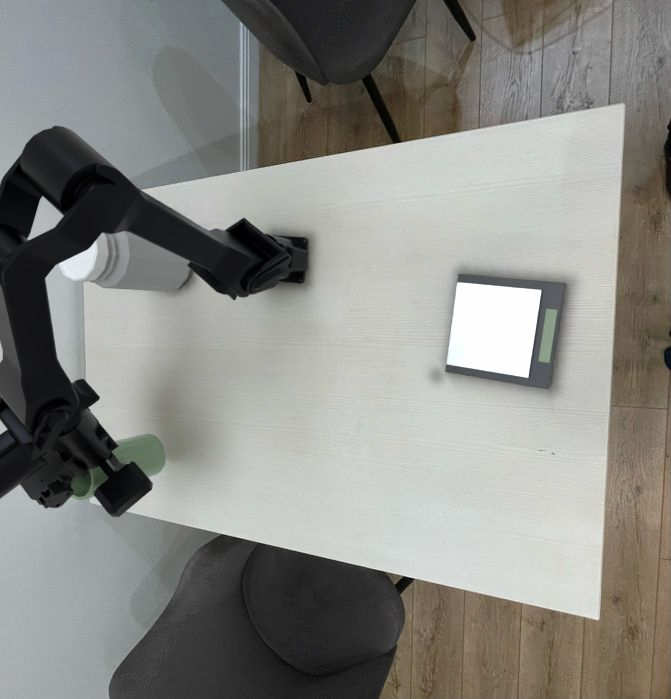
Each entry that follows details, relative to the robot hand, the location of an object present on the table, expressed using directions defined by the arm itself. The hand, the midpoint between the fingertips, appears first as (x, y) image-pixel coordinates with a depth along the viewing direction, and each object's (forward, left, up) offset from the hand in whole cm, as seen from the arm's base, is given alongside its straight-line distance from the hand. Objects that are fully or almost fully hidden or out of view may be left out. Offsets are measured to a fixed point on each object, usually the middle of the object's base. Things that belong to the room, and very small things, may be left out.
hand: (111, 471), depth 79 cm
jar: (-3, +31, -13) cm, 34 cm away
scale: (+50, +27, -12) cm, 59 cm away
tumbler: (+1, +1, -7) cm, 7 cm away
